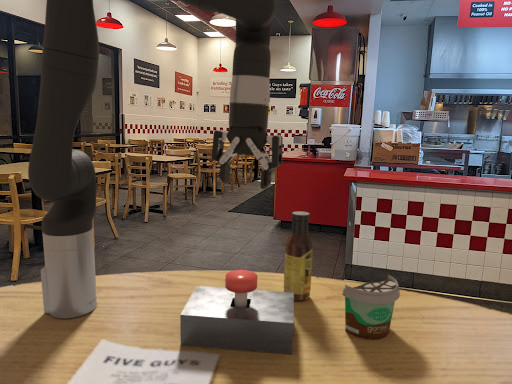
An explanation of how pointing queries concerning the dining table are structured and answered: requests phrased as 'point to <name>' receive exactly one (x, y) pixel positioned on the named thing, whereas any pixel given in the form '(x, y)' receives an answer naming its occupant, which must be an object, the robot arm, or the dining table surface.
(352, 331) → the food container
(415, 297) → the dining table surface
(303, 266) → the sauce bottle
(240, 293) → the red button
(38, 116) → the robot arm
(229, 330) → the console
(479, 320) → the dining table surface
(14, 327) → the dining table surface
